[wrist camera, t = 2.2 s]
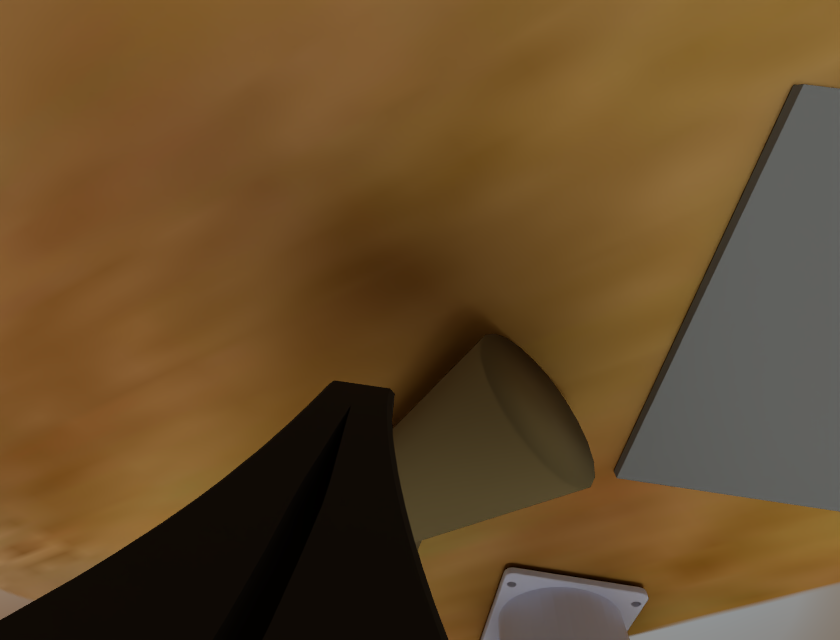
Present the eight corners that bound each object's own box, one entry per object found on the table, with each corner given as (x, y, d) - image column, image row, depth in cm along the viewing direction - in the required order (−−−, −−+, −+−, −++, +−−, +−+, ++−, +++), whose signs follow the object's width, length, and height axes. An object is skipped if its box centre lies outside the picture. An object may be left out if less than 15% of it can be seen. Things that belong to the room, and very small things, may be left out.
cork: (471, 306, 16) (307, 441, 20) (494, 434, 11) (271, 573, 15) (564, 384, 18) (399, 489, 23) (618, 518, 13) (393, 617, 18)
